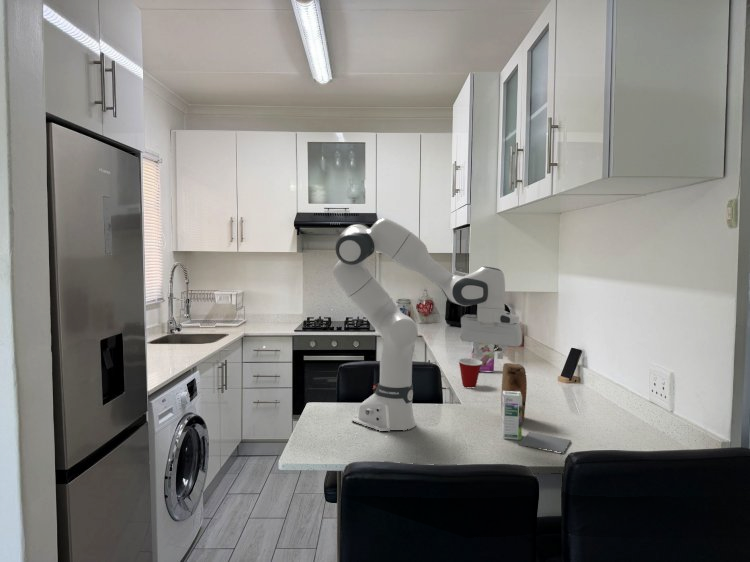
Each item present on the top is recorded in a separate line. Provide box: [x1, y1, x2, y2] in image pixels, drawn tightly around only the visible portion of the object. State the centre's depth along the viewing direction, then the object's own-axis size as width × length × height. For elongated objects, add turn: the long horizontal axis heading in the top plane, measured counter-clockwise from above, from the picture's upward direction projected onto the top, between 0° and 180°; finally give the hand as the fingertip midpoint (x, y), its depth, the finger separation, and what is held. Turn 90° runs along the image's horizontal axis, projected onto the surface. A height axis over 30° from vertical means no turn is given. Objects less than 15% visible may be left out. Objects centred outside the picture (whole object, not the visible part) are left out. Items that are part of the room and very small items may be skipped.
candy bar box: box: [470, 342, 495, 372], centre depth 253 cm, size 11×5×16 cm, turn 89°
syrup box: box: [501, 391, 523, 441], centre depth 160 cm, size 6×6×14 cm
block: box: [500, 362, 528, 424], centre depth 176 cm, size 11×8×20 cm
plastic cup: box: [458, 357, 482, 388], centre depth 222 cm, size 11×11×12 cm
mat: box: [518, 431, 572, 453], centre depth 154 cm, size 13×12×1 cm
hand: (489, 357), depth 163 cm, fingers open, 6 cm apart
